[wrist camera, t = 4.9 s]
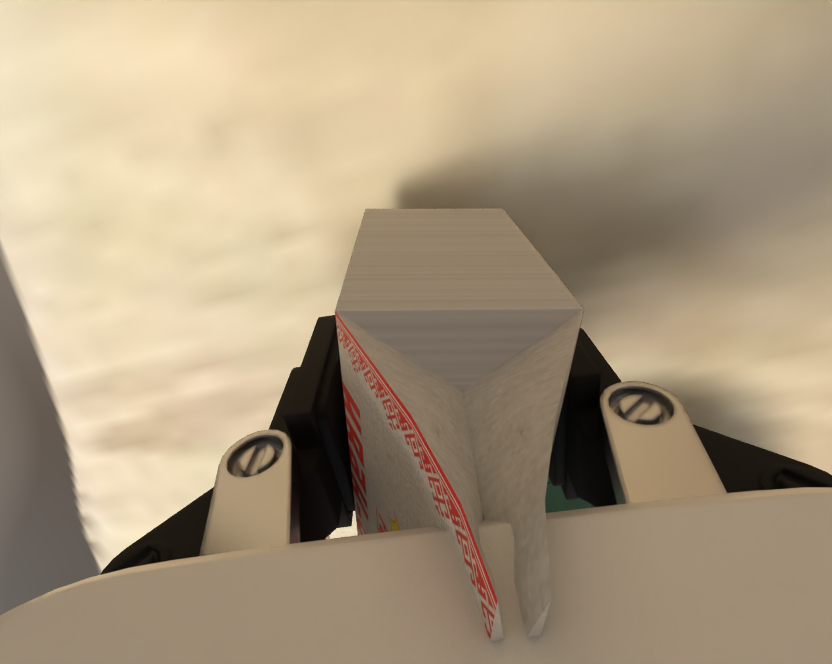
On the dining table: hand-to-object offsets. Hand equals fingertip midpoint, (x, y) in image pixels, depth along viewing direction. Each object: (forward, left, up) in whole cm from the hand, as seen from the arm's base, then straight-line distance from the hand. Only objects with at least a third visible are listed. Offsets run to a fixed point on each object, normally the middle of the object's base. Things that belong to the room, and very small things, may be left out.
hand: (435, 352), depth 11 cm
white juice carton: (0, 0, -2) cm, 2 cm away
